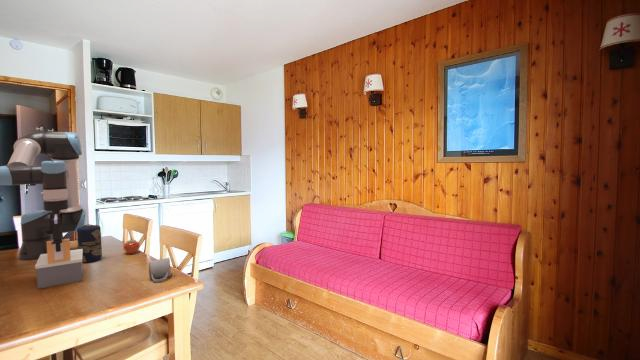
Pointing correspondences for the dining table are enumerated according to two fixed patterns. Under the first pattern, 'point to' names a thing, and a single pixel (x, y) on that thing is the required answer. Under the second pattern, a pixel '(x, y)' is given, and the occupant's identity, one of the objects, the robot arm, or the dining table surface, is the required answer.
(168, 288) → the dining table surface
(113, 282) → the dining table surface
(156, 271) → the ceramic mug
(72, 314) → the dining table surface
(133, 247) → the tomato
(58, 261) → the lid
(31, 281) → the dining table surface
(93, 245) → the canister
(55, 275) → the tub
